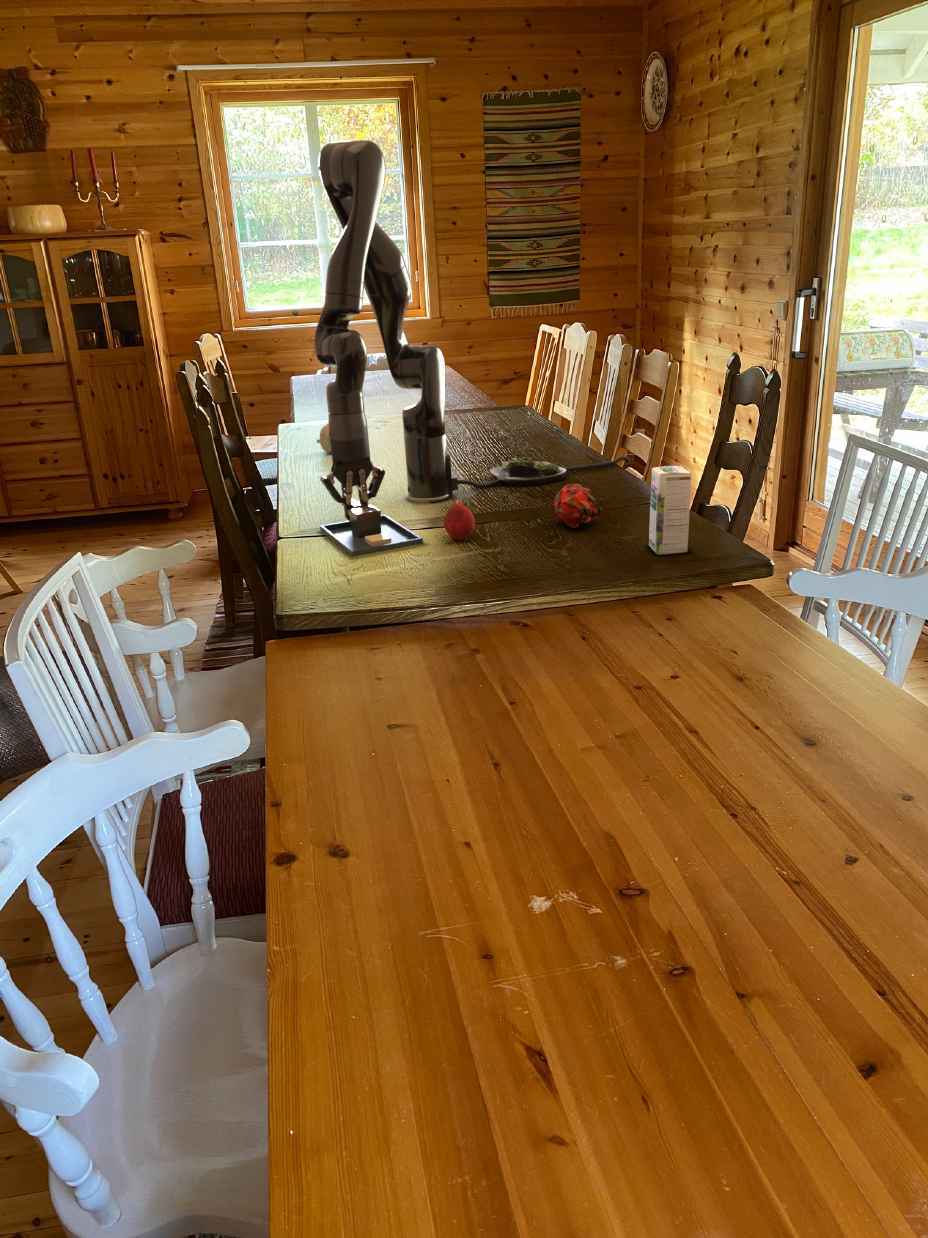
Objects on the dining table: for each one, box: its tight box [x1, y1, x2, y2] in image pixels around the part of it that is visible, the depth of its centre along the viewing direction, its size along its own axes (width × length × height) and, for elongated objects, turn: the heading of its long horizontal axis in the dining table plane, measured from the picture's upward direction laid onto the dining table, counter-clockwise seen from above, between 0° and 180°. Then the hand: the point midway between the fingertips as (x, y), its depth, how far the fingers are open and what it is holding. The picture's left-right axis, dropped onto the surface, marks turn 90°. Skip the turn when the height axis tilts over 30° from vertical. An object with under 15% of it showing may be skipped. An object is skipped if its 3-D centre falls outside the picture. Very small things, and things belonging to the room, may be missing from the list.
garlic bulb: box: [316, 423, 332, 454], centre depth 258 cm, size 9×8×10 cm
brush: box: [340, 498, 382, 537], centre depth 185 cm, size 14×5×5 cm, turn 26°
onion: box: [443, 499, 476, 542], centre depth 173 cm, size 6×6×8 cm
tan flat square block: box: [365, 533, 391, 547], centre depth 176 cm, size 4×4×1 cm
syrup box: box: [648, 465, 693, 556], centre depth 161 cm, size 6×6×14 cm
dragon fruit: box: [553, 483, 603, 529], centre depth 180 cm, size 8×8×12 cm
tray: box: [319, 514, 424, 558], centre depth 179 cm, size 14×20×1 cm
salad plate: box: [490, 456, 567, 487], centre depth 220 cm, size 19×18×5 cm
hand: (357, 519), depth 186 cm, fingers closed on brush
